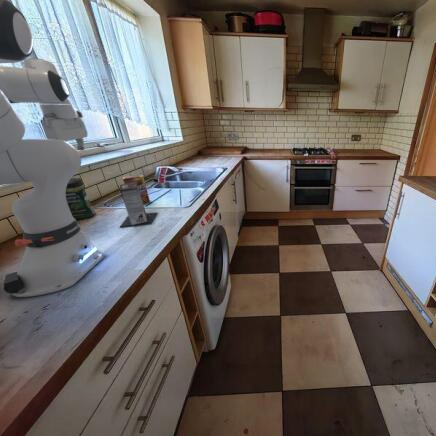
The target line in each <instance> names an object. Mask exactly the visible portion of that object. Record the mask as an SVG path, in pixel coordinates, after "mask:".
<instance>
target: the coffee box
mask: <svg viewBox="0 0 436 436" xmlns="http://www.w3.org/2000/svg"><path fill="white" fill-rule="evenodd" d="M119 192H120V194H121V198H122V200H123V203H124V206H125V209H126V212H127V217H128V216H129V218H130V221H131V224H132V225H134V224H139V223H144V222H148V220H147V214H146V213H147V211H146V208H145V204H143V201H142V198H141V195H140V192H139V188H138V185H137V183H129V184H124V183H121V184H119Z"/></svg>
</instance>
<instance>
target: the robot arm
mask: <svg viewBox="0 0 436 436" xmlns="http://www.w3.org/2000/svg"><path fill="white" fill-rule="evenodd" d="M33 46H34V38H33V34H32V30H31V28H30V26H29V23H28V21H27V18H26V17H25V16H24V14H23V13H22V12H21V11H20V9H18V8H17V6H15V5H14V4H13V3H12V2H11V1H9V0H0V64H16V63H20V62H23V65H24V67H17V66H3V65H0V186H5V185H15V184H20V183H21V184H22V183H31V184H32V187H33V188H32V189H31V190H30V191H28V192H26V193H24V194H23V195H21V196H19V197H18V198H16V199H15V200H14V201H13V202H12V205H11V212H12V214H13V215H14V217H15V219H16V221H17V222H18V223H19V225H20V227H21V229H22V230H23V231H22V238H21V239H16V240H15V241H14V246H15V247H25V251H24V253H23V255H22V257H21V260H20V263H19V265H18V268H17V271H14V272H10V273H7V274H5V277H4V279H3V283H2V285H3V290H4V291H5V293H8V294H12V296H13V297H16V298H29V297H30V298H31V297H36V296H42V295H48V294H52V293H55V292H59V291H62V290H66V289H68V288H70V287H72V286H74V285H76V284H77V282H78V281H80V280H81V279H82V278H83V277H84V276H85V275H86V274H88V272H90V270H92V269H93V268H94V267H95V266H96V265H97V264H99V262H100V261H101V260H103V259H104V255H103V253H99V252H98V251H97V249H98V248H97V247H95V246H94V244H93V242H92V241H91V239H90V237H89V236H87V235H86V234H84V233H83V232H82V231H81V227H80V224H79V222H78V220H77V219H75V218H73V216H72V214H71V211H70V209H69V206H68V203H67V200H66V187H67V184H68V182H69V180H70V179H71V178H73V177H74V176H75V175H76V174H77V173H78V172H79V171H80V169H81V166H82V158H81V155H80V153H79V151H85V150H86V148H85V141H84V138H87V137H88V130H87V126H86V124H85V121H84V119H83V118H84V116H83V113H82V112H81V111H79V110H78V109H76V107H74V104H73V102H72V101H71V99H70V98H69V97H70V96H71V92H70V89H69V86H68V84H67V81H66V79H65V78H63V76H62V75H61V73H60V71H59V70H58V69H57V66H56V65H55V63H53V62H51V61H49V60H46V59H42V58H35V57H34V58H33V57H32V58H29V57H31V55H32V54H33V49H34V48H33ZM20 103H21V104H24V103H26V104H27V103H29V104H34V103H37V104H38V105H39V107H40V110H41V113H42V118H41V119H42V120H41V126H42V129H43V133H44V135H45V137H46V138H43V137H42V138H40V137H39V138H24V136H25V133H26V126H25V124H24V122H23V120H22V118H21V117H20V115H19V114H18V113H17V111H16V109H15V108H14V106H13V105H12V104H20ZM74 140H75V142H76V148H75V146H74V145H72V144H71V143H70V141H74Z"/></svg>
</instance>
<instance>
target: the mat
mask: <svg viewBox="0 0 436 436" xmlns="http://www.w3.org/2000/svg"><path fill="white" fill-rule="evenodd" d="M146 214H147V220H148V222H144V223H139V224H134V225H132V224H131V221H130V218H129V216H128V215H127V217H126V219H125V220H124V221H122V224H121V225H120V226H119V227H120V228H129V227H138V226H147V225H152V223H154V220H155V218H156V217H157V214H158V212H146Z"/></svg>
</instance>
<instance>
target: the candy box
mask: <svg viewBox="0 0 436 436" xmlns="http://www.w3.org/2000/svg"><path fill="white" fill-rule="evenodd" d="M122 181H123V184H129V183H137V185H138V188H139V192H140V195H141V198H142V201H143V204H144V205H147V204H148V205H149V204H151V199H150V197H149V192H148V189H147V185H146V181H145V178H144V174H138V175H137V174H136V175H129V176H123V177H122Z"/></svg>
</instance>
